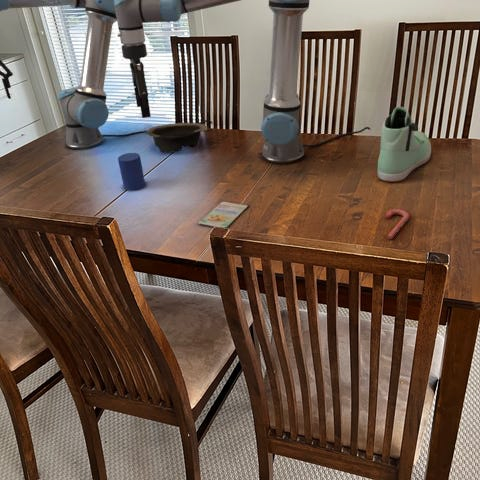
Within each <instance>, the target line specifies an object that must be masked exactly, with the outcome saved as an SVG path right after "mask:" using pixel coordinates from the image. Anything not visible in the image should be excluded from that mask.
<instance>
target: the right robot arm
mask: <svg viewBox="0 0 480 480" xmlns="http://www.w3.org/2000/svg"><path fill="white" fill-rule="evenodd" d="M240 1H241V0H114V7H115V12H116V17H117V21H116V23H117V28H118V32H119V33H117V34H116V35H117V37H118V38H119V39H120V40H119V41H120V44H122V45H121V53H122V57H123V58H124V59H125V60H129V62H130V63H129V68H130V72H131V77H132V83H133V84H132V85H133V89H134V96H135V103H136V107H137V108H140V113H141V118H142V119H145V118H151V117H152V116H151V109H150V101H149V91H148V86H147V82H146V75H145V70H144V69H145V66H144V65H145V64H144V63H143V61H141V59H143V58H146V57H147V56H148V52H147V46H146V43H145V42H146V36H145V35H146V34H145V29H144V24H143V23H145V24H146V23H172V22H178V21H180V19H181V16H182V15H185V14H188V13H193V12H197V11H202V10H206V9H210V8H214V7H215V8H216V7H218V6H219V7H220V6H222V5H227V4H231V3H236V2H240ZM268 8H269V10H270V11H271V12H272V14H273V15H272V30H271V31H272V32H271V48H270V68H269V69H270V71H269V88H268V93H267V94H266V95H265V97H264V98H265V99H264V100H263V110H262V122H261V124H260V125H261V126H260V130H261V131H260V132H261V134H262V137H263V139H264V140H265V141H264V143H263V147H262V153H261V154H262V159H263V161H265V162H267V163H271V164H275V165H276V164H277V165H287V164H292V163H296V162H299V161H301V160H302V159H304V157H305V150H304V148H313V147H318V146H320V145H324V144H326V143H328V142H331V141H334V140H335V139H338V138H341V137H344V136H349V135H355V134H360V133H362V132H364V131H365V130H369V131H370V130H371V128H370V127H369V126H365V127H363V128H362V129H361V130H357V131H351V132H345V133H342V134H338V135H335V136H333V137H330V138H328V139H325V140H323V141H321V142H318V143H314V144H303V142H302V141H301V137H300V112H301V111H300V110H301V101H300V97H299V94H298V93H297V91H298V90H297V89H298V77H299V66H300V54H301V41H302V30H303V17H304V14H305V12H307V11H308V10H309V8H310V0H268Z"/></svg>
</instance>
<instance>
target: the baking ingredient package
mask: <svg viewBox="0 0 480 480" xmlns="http://www.w3.org/2000/svg"><path fill="white" fill-rule="evenodd" d="M248 206H249V205H246V204H240V203H236V202H235V203H234V202H229V201H221V202H220V203H219V204H218V205H216V206H215V207H214V208H213V209H212V210H211V211H210V212H209V213H208V214H206V215H205V216H204V217H203V218H202V219H201V220H199V222H198V225H199V224H200V225H204V226H208V227H214V228H215V227H216V228H220V227H226V228H227V227H228V226H229V225H230V224H231V223H233V221H234V220H236V218H237V217H239V215H241V214H242V213H243V211H245V209H247V207H248Z"/></svg>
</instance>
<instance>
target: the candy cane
mask: <svg viewBox="0 0 480 480" xmlns="http://www.w3.org/2000/svg"><path fill="white" fill-rule="evenodd" d="M393 215H400V216H402V217H401V219H400V220H399V221H398V223H396V225H395V226H394V227H393V228H392V230H391V231H390V232H389V233H388V234H387V239H389V240H393V238H394V237H395V236H396V235H397V233H399V231H400V230H401V228H403V226H404V225H405V224H406V223H407V221H408V220H409V218H410V215H409V213H408V212H407V211H406V210H403V209H397V208H396V209H395V208H394V209H390V210H388V211H387V212H386V214H385V217H386V219H389V218H390V219H391V217H392V216H393ZM404 222H405V223H404ZM400 227H401V228H400ZM399 228H400V229H399ZM398 229H399V230H398ZM397 230H398V231H397ZM396 232H397V233H396ZM395 233H396V234H395ZM394 234H395V235H394ZM393 235H394V236H393ZM388 236H390V237H391V236H393V237H391V238H390V237H388Z"/></svg>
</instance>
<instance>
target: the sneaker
mask: <svg viewBox="0 0 480 480" xmlns="http://www.w3.org/2000/svg"><path fill="white" fill-rule="evenodd" d="M379 146H380V149H379V154H378V159H377V170H376V171H377V177H378V179H380V180H382V181H385V182H392V183H393V182H400V181H403V180H404V179H406V178H407V177H408V175H410V173H412V172H413V171H414V170H415V169H417V168H418V167H421V166H422V165H424V164H426V163H428V161H429V160H430V159H431V154H432V145H431V141H430V139H429V137H428V136H427V134H426V133H425V132H423V131H420V130H419V126H418V124H416V123H415V122H413V118H412V117H411V116H410V112H409V110H408V109H407V108H406V107H403V106H397V107H394V108H393V110H392V113H391V114H389V115H388V116H387V117H386V118H385V119H384V120H383V123H382V125H381V131H380V145H379Z"/></svg>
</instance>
